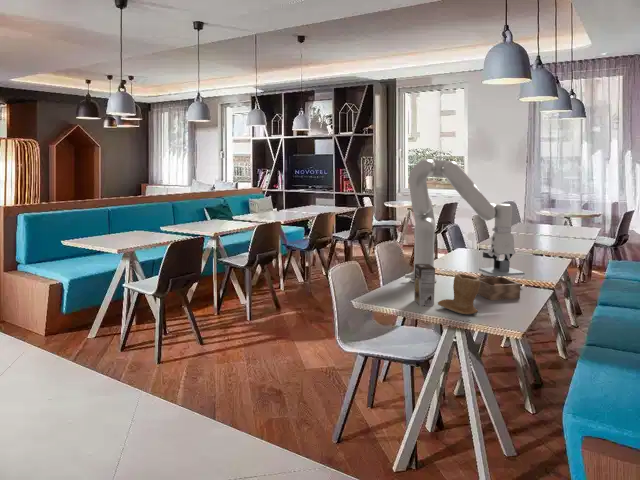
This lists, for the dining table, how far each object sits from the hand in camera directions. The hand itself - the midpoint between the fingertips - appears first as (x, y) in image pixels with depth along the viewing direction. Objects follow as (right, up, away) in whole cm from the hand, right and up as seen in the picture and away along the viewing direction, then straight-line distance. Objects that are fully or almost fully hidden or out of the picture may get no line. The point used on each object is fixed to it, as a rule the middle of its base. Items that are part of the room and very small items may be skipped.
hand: (501, 267), depth 258 cm
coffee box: (-43, -14, -30) cm, 54 cm away
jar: (+2, -5, +24) cm, 25 cm away
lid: (0, -2, 0) cm, 2 cm away
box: (-9, -12, -20) cm, 25 cm away
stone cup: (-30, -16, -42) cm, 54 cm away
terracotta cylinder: (-7, -11, -17) cm, 21 cm away
